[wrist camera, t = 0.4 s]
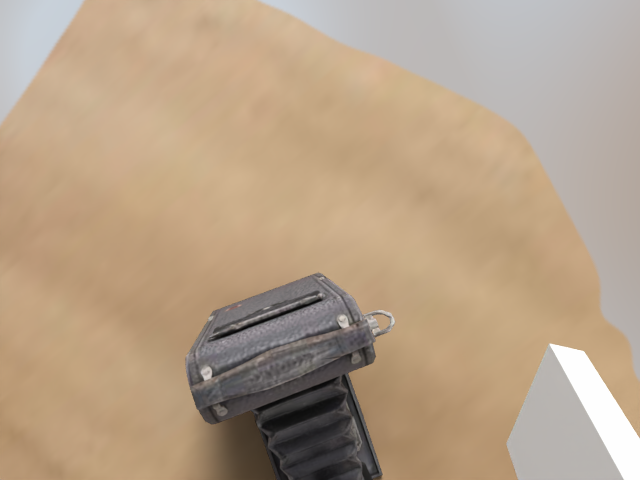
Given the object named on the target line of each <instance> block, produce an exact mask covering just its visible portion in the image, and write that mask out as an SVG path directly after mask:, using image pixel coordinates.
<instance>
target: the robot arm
mask: <svg viewBox="0 0 640 480" xmlns="http://www.w3.org/2000/svg"><path fill="white" fill-rule="evenodd" d="M507 447H508V450H509V453H510V456H511V459H512V462H513V465H514V468H515V472H516V475H517V478H518V480H640V439H639V437H638V435H637V434H636V432H635V431H634V429H633V428H632V426H631V424H630V423H629V421H628V420H627V418H626V417H625V415H624V413H623V412H622V410H621V409H620V407H619V406H618V404H617V402H616V401H615V399H614V398H613V396H612V395H611V393H610V391H609V390H608V388H607V387H606V385H605V384H604V382H603V380H602V379H601V377H600V376H599V374H598V373H597V371H596V369H595V368H594V366H593V365H592V363H591V362H590V360H589V358H588V357H587V355H586V354H585V352H584V351H580V350H576V349H572V348H567V347H563V346H558V345H554V344H549V345H548V347H547V350H546V352H545V354H544V357H543V359H542V361H541V364H540V366H539V368H538V371H537V373H536V375H535V378H534V380H533V383H532V385H531V387H530V390H529V392H528V394H527V397H526V399H525V401H524V404H523V406H522V408H521V411H520V413H519V415H518V418H517V420H516V422H515V425H514V427H513V429H512V432H511V434H510V436H509V439H508V441H507Z"/></svg>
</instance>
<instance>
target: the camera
mask: <svg viewBox="0 0 640 480" xmlns="http://www.w3.org/2000/svg"><path fill="white" fill-rule="evenodd" d="M377 314H384V315H386V316H387V317H389V319H390V325H389V326H388V327H387V328H386V329H384V330H381V331H380V329H379V326H378V323H377V321H376V319H375V318H373V317H372V316H374V315H377ZM363 316H364V317H363ZM364 318H366V319H364ZM394 323H395V321H394V317H393V316H392V315H391V313H389V312H386V311H383V310H376V311H373V312H370V313H367V314H364V315H362V313H361V311H360V309H359V307H358V305H357V304H356V302H355V300H354V298H353V297H352V296H351V295H349V294H348V293H347V292H345V291H344V290H343V289H341V288H340V287H339V286H337V285H336V284H335V283H334V282H332V281H331V280H330V279H328V278H326V277H325V276H324V275H323V274H321V273H316V274H313V275H310V276H308V277H305V278H302V279H300V280H297V281H294V282H291V283H289V284H286V285H283V286H281V287H278V288H275V289H272V290H270V291H267V292H264V293H261V294H259V295H256V296H253V297H251V298H248V299H245V300H242V301H240V302H237V303H234V304H232V305H229V306H226V307H223V308H221V309H218V310H215V311H213V312H212V314H211V315H210V317H209V319H208V322H207V323H206V324H205V326H204V328H203V329H202V331H201V333H200V334H199V336H198V338H197V339H196V341H195V343H194V344H193V346H192V348H191V349H190V351H189V353H188V354H187V356H186V359H185V360H186V373H187V377H188V382H189V386H190V390H191V393H192V396H193V399H194V402H195V405H196V408H197V410H199V412H200V414H201V415H202V417H203V418H204V420H205V421H206V422H208V423H210V424H216V423H219V422H222V421H224V420H227V419H229V418H232V417H235V416H237V415H240V414H242V413H245V412H248V411H250V410H251V411H252V412H253V413H254V416H255V418H256V421H255V422H256V424H257V426H258V428H259V430H260V433H261V435H262V438H263V441H264V444H265V447H266V450H267V452H268V455H269V458H270V461H271V464H272V467H273V469H274V472H275V475H276V478H277V480H373V478H376V477H378V476H381V475H383V474H382V471H381V468H380V465H379V462H378V459H377V456H376V453H375V450H374V447H373V444H372V441H371V438H370V435H369V432H368V429H367V426H366V423H365V420H364V417H363V414H362V411H361V408H360V405H359V402H358V400H357V397H356V394H355V391H354V389H353V386H352V383H351V380H350V378H349V375H348V373H349V372H351V371H354V370H356V369H359V368H361V367H364V366H367V365H369V364H372V363H373V362H374V360H375V357H376V355H375V351H374V347H373V342H375V338H374V337H377V336H380V335H382V334H385V333H387V332H390V331H391V329H392V327H393V326H394ZM372 331H373V333H372ZM373 334H374V335H373Z"/></svg>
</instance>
